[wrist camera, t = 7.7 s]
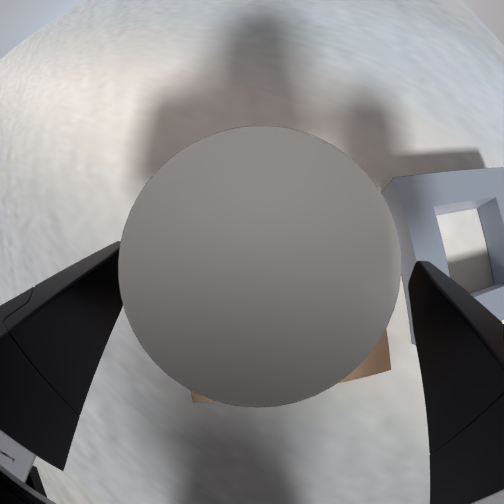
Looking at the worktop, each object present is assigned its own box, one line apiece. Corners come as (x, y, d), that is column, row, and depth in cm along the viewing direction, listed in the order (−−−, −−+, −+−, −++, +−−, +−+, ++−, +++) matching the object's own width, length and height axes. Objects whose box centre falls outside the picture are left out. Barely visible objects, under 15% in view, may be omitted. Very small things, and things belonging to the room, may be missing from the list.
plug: (262, 349, 16) (205, 449, 4) (219, 278, 17) (85, 218, 5) (334, 304, 16) (447, 300, 4) (289, 234, 17) (294, 88, 5)
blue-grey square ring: (412, 343, 16) (429, 348, 14) (381, 193, 18) (393, 177, 16) (514, 305, 16) (535, 303, 13) (485, 179, 17) (503, 167, 15)
